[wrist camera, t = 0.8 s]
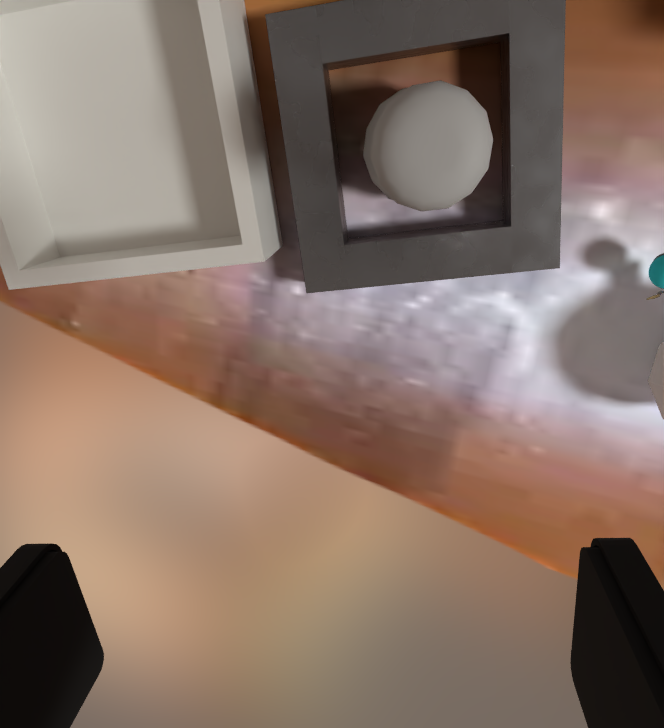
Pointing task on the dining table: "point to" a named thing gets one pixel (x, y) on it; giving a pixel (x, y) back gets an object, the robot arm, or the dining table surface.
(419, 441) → the dining table surface
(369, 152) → the salt shaker
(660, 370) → the perfume bottle
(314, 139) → the collar block
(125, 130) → the bin
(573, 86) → the dining table surface
